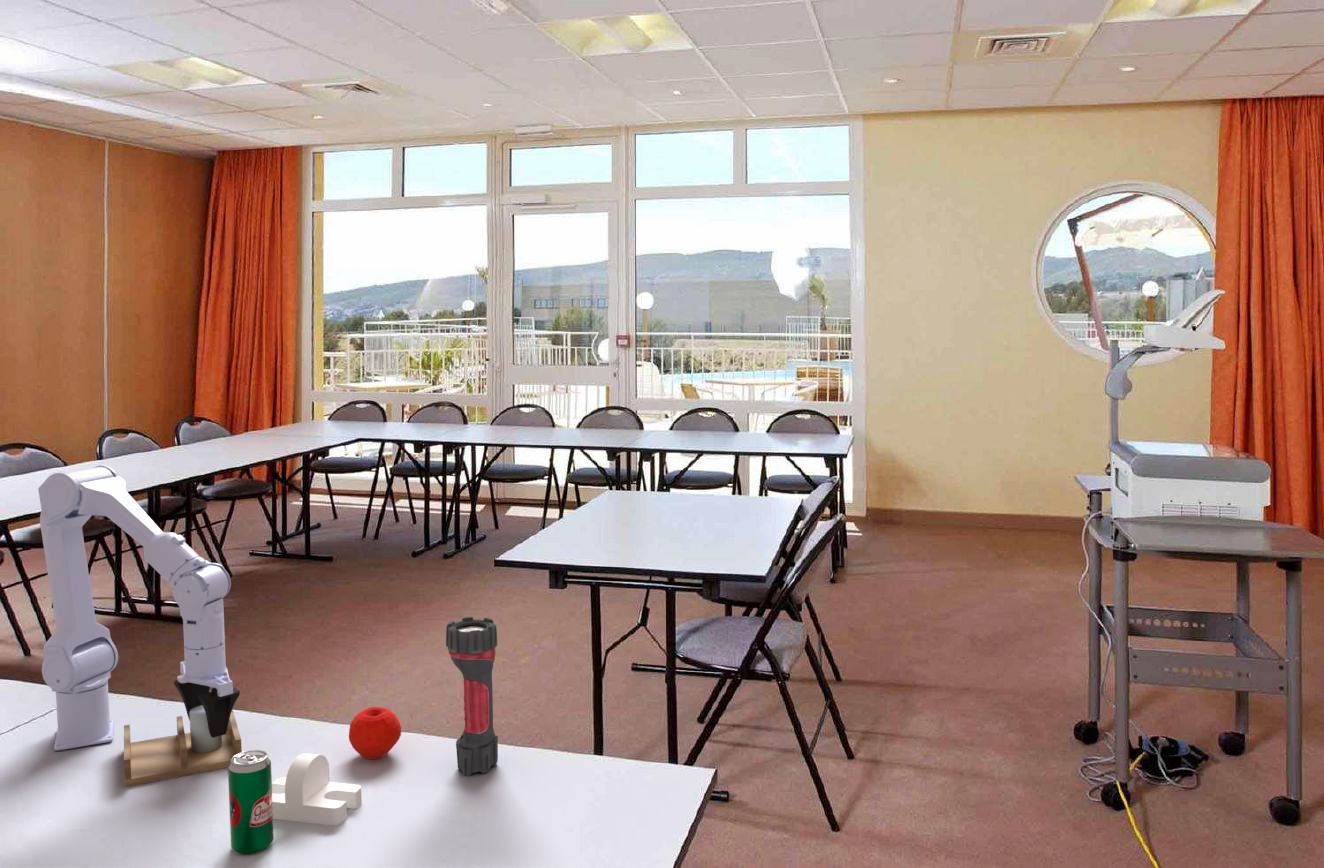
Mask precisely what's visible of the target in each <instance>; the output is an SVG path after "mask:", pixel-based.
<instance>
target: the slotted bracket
mask: <svg viewBox="0 0 1324 868" xmlns="http://www.w3.org/2000/svg"><path fill="white" fill-rule="evenodd" d="M330 780H331V779H330V765H329V761H328V759H327V757H326V756H325V755H323V754H318V753H317V754H316V753H307V752H306V753H305V752H304V753H303V752H302V753H300V754H299V755H297V756H296V757H295V758H294V759H293V761H292V762H291V764H290V766H289V769H288V770H287V774H286V776H282V777H278V778H275V780H274V781H273V780H272V803H273V820H283V821H292V822H298V823H299V822H302V823H309V824H318V825H327V826H339V825H341V824H343V822H344V821H346V820H347V818H348V817H347V816H348V815H347V813H348V811H347V809H353V810H354V809H355V810H357V808H359V807H360V806H361V805H362V804H363V803H362V785H361V784H355V783H344V782H343V783H342V782H336V781H335V782H334V781H330Z"/></svg>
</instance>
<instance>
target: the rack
mask: <svg viewBox="0 0 1324 868" xmlns="http://www.w3.org/2000/svg"><path fill="white" fill-rule="evenodd" d="M236 720H237V719H236V716H235V713H234V709H232V711H231V715H230V719H229V723H228V728H227V732H226V734H224V735H222V746H221V747H220V748H218V749H216V750H214V751H210V752H205V753H196V752H193V751H192V750H191V736H190V732H185V726H184V720H183V715H180V716H176V731H177V732H176V733H177V734H175V735H174V734H173V735H169V736H163V737H157V738H151V739H146V740H145V739H144V740H140V741H133V742H131V727H130V726H131V724H125V725H123V768H124V784H125V787H132V786H137V785H142V784H146V783H152V782H157V781H162V780H169V779H175V778H178V777H184V776H191V775H195V774H199V773H204V772H210V771H214V770H221V769H226V768H228V767H229V765H230V764H231V759H232V757H233V756H235V755H237V754H239V753H241V752H243V751H242V738H241V734H240V730H239V728H238V724H237V721H236Z"/></svg>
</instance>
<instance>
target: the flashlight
mask: <svg viewBox="0 0 1324 868" xmlns="http://www.w3.org/2000/svg"><path fill="white" fill-rule="evenodd" d="M445 630H446V632H445V633H446V634H445V646H446V647H447V651H448V654H449V656H450V659H451V661H452V663H453V664H454V666H455V667H456V668H457V669H458V670H459V671H460V673H461V675H462V678H463V711H464V728H463V732H462V734H461V735H460V737H459V738H457V740H456V741H455V747H456V760H457V761H456V763H457V769H458V770H459V771H462V774H463V776H467V777H470V776H472V774H474V773H480V774H481V775H485V774H486V773H488V772H489V771H490V768H491V767H496V765H497V764H498V760H499V756H498V755H499V754H498V751H499V744H498V742H499V736H498V735H496V733H495V730H494V708H493V707H494V705H493V704H494V697H493V669H494V668H493V667H494V662H495V658H496V647H497V646H498V630H497V625H496V624H495V623H494V620H493V619H492V618H490V617H484V618H483V619H477V618H476V619H474V617H473V616H464V617H463V618H462V619H461V620H460V621H457V622H455V621H453V620H451V621H449V622H448V623H447V624H446V629H445Z"/></svg>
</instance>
